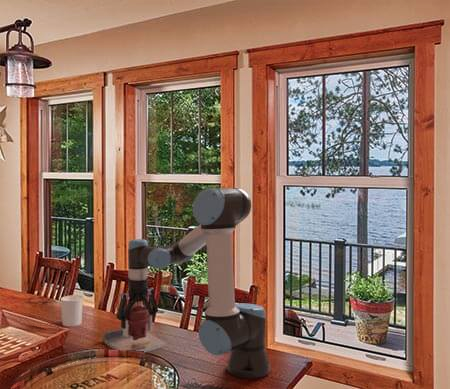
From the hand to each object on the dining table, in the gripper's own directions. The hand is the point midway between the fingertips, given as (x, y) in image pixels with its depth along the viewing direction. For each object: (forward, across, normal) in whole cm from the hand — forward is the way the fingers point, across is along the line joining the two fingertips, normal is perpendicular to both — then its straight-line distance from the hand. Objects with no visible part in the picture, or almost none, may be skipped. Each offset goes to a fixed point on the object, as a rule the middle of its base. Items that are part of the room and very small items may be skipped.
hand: (137, 333), depth 178 cm
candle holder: (+6, +11, -43) cm, 45 cm away
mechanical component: (+2, 0, 0) cm, 2 cm away
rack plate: (+5, 0, -3) cm, 6 cm away
